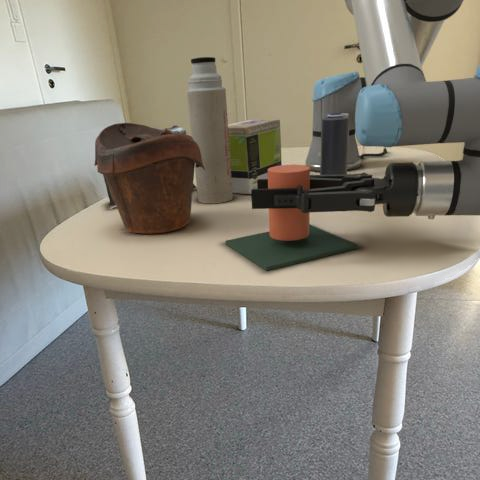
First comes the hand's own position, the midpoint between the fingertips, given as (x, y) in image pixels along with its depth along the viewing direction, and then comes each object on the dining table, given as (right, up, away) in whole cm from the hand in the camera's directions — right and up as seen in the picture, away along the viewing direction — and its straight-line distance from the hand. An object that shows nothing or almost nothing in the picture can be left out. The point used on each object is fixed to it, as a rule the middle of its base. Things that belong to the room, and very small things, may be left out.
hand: (255, 193), depth 68 cm
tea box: (0, +14, +43) cm, 45 cm away
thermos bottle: (-8, +8, +34) cm, 36 cm away
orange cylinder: (+5, -6, +2) cm, 8 cm away
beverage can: (+22, +17, +47) cm, 55 cm away
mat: (+6, -8, +3) cm, 10 cm away
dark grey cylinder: (+19, +11, +36) cm, 42 cm away
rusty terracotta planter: (-23, +10, +40) cm, 47 cm away
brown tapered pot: (-18, -1, +18) cm, 26 cm away
